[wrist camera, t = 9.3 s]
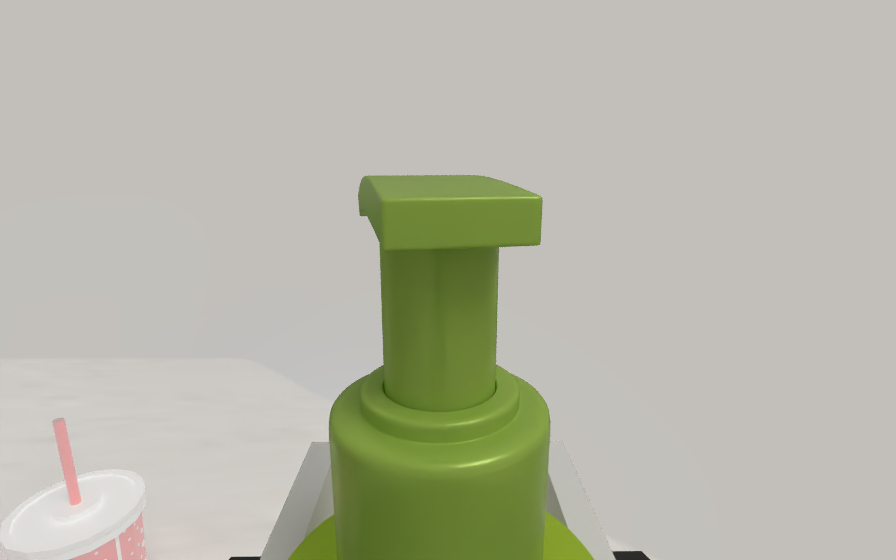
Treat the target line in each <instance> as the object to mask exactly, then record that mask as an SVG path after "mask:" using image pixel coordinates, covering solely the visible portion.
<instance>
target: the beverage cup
mask: <svg viewBox="0 0 896 560" xmlns="http://www.w3.org/2000/svg"><path fill="white" fill-rule="evenodd" d="M52 423H53V427H54V432H55V436H56V441H57V446H58V450H59V455H60V459H61V464H62V469H63V473H64V478H65V480H63V481H61V482H58V483H56V484H54V485H52V486H50V487H47V488H45V489H43V490H41V491H39V492H38V493H36V494H35V495H33V496H32V497H30V498H29V499H27V500H26V501H24V502H23V503H21V504H20V505H18V506H17V507H16V508H15V509H14V510H13V511H12V512H11V514H10V515H9V516H8V517H7V518H6V519H5V520H4V521H3V522H2V525H1V528H0V545H1V546H2V551H3V553H4V554H5V556H6V557H7V558H8V560H146V552H145V540H144V529H143V518H142V510H143V508H144V507H145V505H146V496H145V484H144V479H143V478H141V477H140V476H139V475H137V474H136V473H135V472H132V471H126V470H120V469H111V470H101V471H92V472H89V473H85V474H82V475H78V476H76V471H75V466H74V462H73V457H72V452H71V447H70V443H69V438H68V433H67V428H66V424H65V419H64V418H58V419H55V420H53V421H52Z"/></svg>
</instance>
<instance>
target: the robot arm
mask: <svg viewBox="0 0 896 560" xmlns="http://www.w3.org/2000/svg"><path fill="white" fill-rule="evenodd" d="M546 512H548V513H549V514H551V515H552V516H553V517H555V518H556V519H557V520H559V521H560V522H561V523H562V524H563V525H565V526H566V527H567V528H568V529H569V530H570V531H571V532H572V533H573V534H574V535H575V536H576V537H577V538H578V539H579V540H580V541H581V543H582V544H583V545H584V546H585V547H586V549H587V550H588V551H589V553H590V554H591V555H592V557H593V558H594V560H650V559H649V558H648V557H647V556H646V555H645V554H644V553H643V552H642V551H614V552H612V550H611V548H610V546H609V543H608V541H607V539H606V537H605V534H604V532H603V530H602V528H601V525H600V523H599V521H598V519H597V516H596V514H595V512H594V509H593V507H592V505H591V503H590V500H589V498H588V496H587V494H586V491H585V489H584V487H583V485H582V482H581V480H580V478H579V476H578V473H577V471H576V469H575V467H574V464H573V462H572V460H571V458H570V456H569V453H568V451H567V449H566V446H565V444H564V442H563V441H550V446H549V463H548V481H547V498H546ZM333 514H334V504H333V489H332V473H331V458H330V442H312V443H311V445H310V448H309V450H308V452H307V454H306V457H305V459H304V461H303V463H302V466H301V468H300V470H299V472H298V475H297V477H296V479H295V481H294V484H293V486H292V488H291V490H290V493H289V495H288V497H287V499H286V502H285V504H284V506H283V508H282V511H281V513H280V515H279V517H278V520H277V522H276V524H275V526H274V529H273V531H272V533H271V535H270V538H269V540H268V542H267V544H266V547H265V549H264V551H263V553H262V556H261V557H231V558H230V559H229V560H288V558H289V557H290V556H291V554H292V553H293V552H294V550H295V549H296V548H297V547H298V546H299V544H300V543H301V542H302V541H303V540H304V539H305V538H306V537H307V536H308V535H309V534H310V533H311V532H312V531H313V530H314V529H315V528H316V527H318V526H319V525H320V524H321V523H322V522H324V521H325V520H326V519H328V518H329V517H330V516H332V515H333Z"/></svg>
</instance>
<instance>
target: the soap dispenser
mask: <svg viewBox="0 0 896 560" xmlns="http://www.w3.org/2000/svg"><path fill="white" fill-rule="evenodd" d="M358 200H359V212H360V216H367V217H368V219H369V221H370V223H371V225H372V227H373V229H374V231H375V233H376V236H377V238H378V240H379V242H380V268H381V298H382V329H383V356H384V357H383V359H384V365H383V366H381V367H379V368H378V369H376V370H374V371H373V372H372V373H371V374H369V375H366V376H365V377H362V378H361V379H359V380H357V381H355V382H354V383H352V384H351V385H350V386H348V387H347V388H346V389H345V390H344V391H343V392H342V393H341V395H339V397H338V398H337V399H336V401H335V402H334V404H333V406H332V409H331V412H330V418H329V442H330V458H331V473H332V489H333V504H334V514H333V515H332V516H330V517H329V518H328V519H326V520H325V521H324V522H322V523H321V524H320V525H319V526H318V527H316V528H315V529H314V530H313V531H312V532H311V533H310V534H309V535H308V536H307V537H306V538H305V539H304V540H303V541H302V542H301V543H300V544H299V546H298V547H297V548H296V549H295V550H294V552H293V553H292V554H291V556H290V557H289V558H288V560H594V558H593V557H592V555H591V554H590V553H589V551H588V550H587V549H586V547H585V546H584V545H583V544H582V543H581V541H580V540H579V539H578V538H577V537H576V536H575V535H574V534H573V533H572V532H571V531H570V530H569V529H568V528H567V527H566V526H565V525H563V524H562V523H561V522H560V521H559V520H557V519H556V518H555V517H553V516H552V515H551V514H549V513H548V512H546V498H547V481H548V463H549V446H550V416H549V410H548V406H547V404H546V402H545V400H544V399H543V397H542V396H541V395H540V394H539V393H538V391H537V390H536V389H535V388H534V387H532V386H531V385H530V384H529V383H527V382H525V381H524V380H523V379H521V378H519V377H517V376H515V375H513V374H511V373H509V372H508V371H506V370H505V369H503V368H502V367H500V366H498V365H496V337H497V335H496V334H497V299H498V298H497V297H498V261H499V247H507V246H508V247H509V246H534V245H540V241H541V219H542V197H541V196H539V195H537V194H535V193H532V192H530V191H527V190H524V189H522V188H519V187H517V186H514V185H511V184H509V183H506V182H503V181H500V180H497V179H493V178H490V177H485V176H475V175H454V176H453V175H449V176H448V175H441V176H439V175H435V176H434V175H433V176H432V175H430V176H429V175H425V176H365V177H363V178H362V180H361V183H360V187H359V194H358Z"/></svg>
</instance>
